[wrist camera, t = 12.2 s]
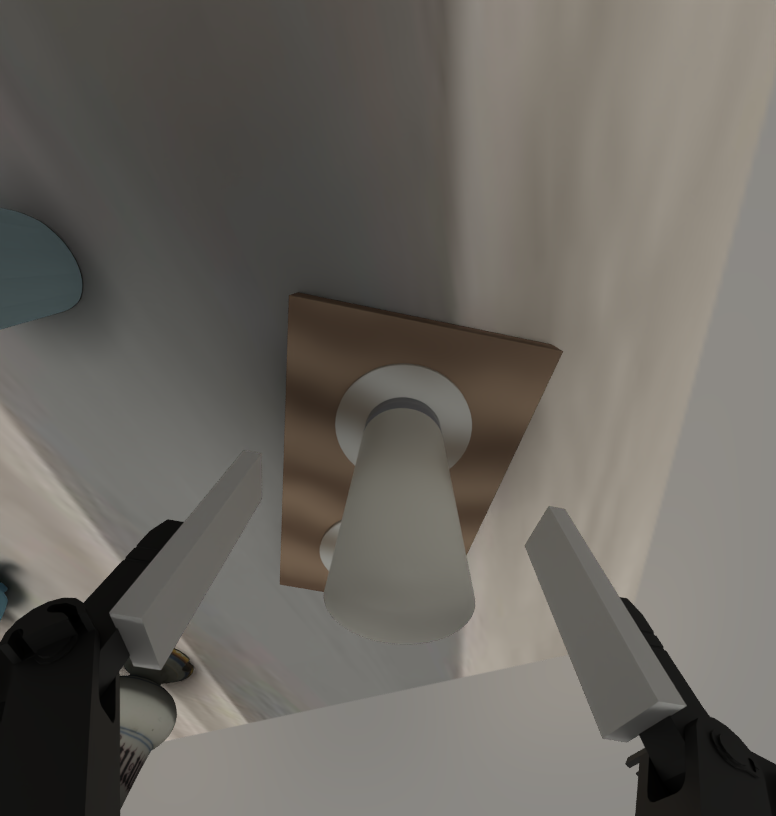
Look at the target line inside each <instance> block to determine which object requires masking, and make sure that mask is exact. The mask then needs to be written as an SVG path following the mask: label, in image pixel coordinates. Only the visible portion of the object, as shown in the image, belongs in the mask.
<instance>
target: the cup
mask: <svg viewBox="0 0 776 816" xmlns="http://www.w3.org/2000/svg"><path fill="white" fill-rule="evenodd" d="M81 293H82V278H81V274H80V270H79V267H78V265H77V262H76V260H75V258H74V257H73V255H72V253H71V252H70V250H69V249H68V248H67V246H66V245H65V244H64V242H63V241H62V240H61V239H60V238H59V237H58V236H57V235H56V234H55V233H54V232H53V231H52V230H50V229H49V228H48V227H47V226H46V225H44V224H43V223H41V222H40V221H38V220H36V219H34V218H32V217H30V216H27V215H25V214H23V213H20V212H17V211H12V210H8V209H4V208H0V329H4V328H7V327H11V326H14V325H18V324H21V323H25V322H29V321H32V320H36V319H39V318H43V317H46V316H50V315H53V314H57V313H60V312H63V311H66V310H69V309H70V308H72V307H73V306H74V305H75V304H76V303H77V302H78V301H79V299H80V297H81Z"/></svg>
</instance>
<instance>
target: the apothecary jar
mask: <svg viewBox="0 0 776 816" xmlns="http://www.w3.org/2000/svg"><path fill="white" fill-rule="evenodd" d="M188 661H189V658H187V657H186V656H185V655H184V654H183V653H181V652H180V651H178V650H176V649H173V651H172V652H171V654H170V656H169V657H168V659H167V661H166V663H165V664H164V666H163V668H162V669H161V670H156V669H150V668H143V667H137V666H133V664H132V661H131V659H130V657H129V658H128V659H127V661H126V662H125V664H124V667H125V669H126V670H127V671H128V672H129V673H130V675H128V676H120V809H121V807H122V805H123V803H124V801H125V799H126V797H127V795H128V793H129V791H130V789H131V787H132V785H133V783H134V781H135V779H136V778H137V776H138V774H139V772H140V770H141V768H142V766H143V764H144V762H145V761H146V759H147V757H148V755H149V753H150V751H151V750H153V749H155V748H156V747H158V746H159V745H160V744H161V743H162V742H164V741H165V739H166V738H167V737H168V736H169V735H170V733H171V731H172V730H173V728H174V725H175V722H176V717H177V711H176V705H175V702H174V700H173V698H172V696H171V695H170V694H169V693H168V692H167V691H166V690H165V689H164V688H163V687H161V686H160V685H161V683H170V682H178V681H182V680H184V679H186V678H188V677H189V676H190V675H191V673H192V672H193V666H192V665H191V664H189V663H188Z"/></svg>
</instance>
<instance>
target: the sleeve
mask: <svg viewBox="0 0 776 816" xmlns="http://www.w3.org/2000/svg"><path fill="white" fill-rule="evenodd" d="M324 602H325V605H326V608H327V610H328V612H329V613H330V615H331V616H332V617H333V618H334V619H335V620H336V621H337V622H338V623H339V624H340V625H341V626H343V627H344V628H346V629H347V630H349V631H351V632H352V633H355V634H357V635H359V636H361V637H364V638H367V639H370V640H374V641H378V642H383V643H389V644H400V645H412V644H422V643H428V642H433V641H437V640H440V639H443V638H445V637H448V636H450V635H452V634H454V633H455V632H457V631H459V630H460V629H461V628H462V627H464V626H465V625H466V624H467V623H468V621H469V620H470V618H471V617H472V615H473V612H474V609H475V597H474V592H473V587H472V582H471V577H470V572H469V567H468V562H467V557H466V552H465V547H464V542H463V537H462V532H461V527H460V522H459V517H458V512H457V507H456V502H455V497H454V492H453V487H452V482H451V477H450V472H449V467H448V462H447V457H446V452H445V447H444V442H443V437H442V432H441V427H440V422H439V419H438V417H437V415H436V414H435V412H434V411H433V410H432V409H431V408H430V407H429V406H428V405H426V404H425V403H423V402H421V401H419V400H416V399H413V398H407V397H398V398H392V399H389V400H386V401H384V402H382V403H380V404H379V405H377V406H376V407H375V408H374V409H373V410H372V411H371V412H370V414H369V416H368V418H367V420H366V424H365V428H364V432H363V436H362V440H361V444H360V448H359V452H358V456H357V460H356V465H355V469H354V473H353V477H352V481H351V485H350V489H349V493H348V497H347V501H346V505H345V509H344V513H343V517H342V521H341V525H340V529H339V533H338V537H337V541H336V545H335V549H334V554H333V558H332V562H331V566H330V570H329V574H328V578H327V582H326V586H325V590H324Z"/></svg>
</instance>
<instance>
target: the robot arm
mask: <svg viewBox="0 0 776 816" xmlns="http://www.w3.org/2000/svg"><path fill="white" fill-rule="evenodd" d="M261 500H262V464H261V453H258V452H252V451H247V450H243V452H242V453H241V454H240V455H239V456H238V458H237V459H236V460H235V461H234V462H233V464H232V465H231V466H230V467H229V468H228V470H227V471H226V472H225V473H224V475H223V476H222V477H221V478H220V479H219V481H218V482H217V483H216V484H215V485H214V487H213V488H212V489H211V490H210V491H209V493H208V494H207V495H206V496H205V497H204V499H203V500H202V501H201V502H200V503H199V505H198V506H197V507H196V508H195V510H194V511H193V512H192V513H191V514H190V516H189V517H188V518H187V519H186V520H185V522H180V521H174V520H166V521H164V522H163V523H161V524H160V525H158V526H157V527H155V528H154V529H152V530H151V531H150V532H149V533H148V534H147V535H146V536H145V537H144V538H143V539H142V540H141V541H140V542H139V543H138V544H137V547H136V548H134V549H133V550H132V551H131V552H130V553H129V554H128V555H127V556H126V559H125V560H123V561H122V562H121V563H120V564H119V565H118V566H117V567H116V568H115V569H114V570H113V572H112V573H111V574H110V575H109V576H108V577H107V578H106V579H105V580H104V581H103V582H102V583H101V585H100V586H99V587H98V588H97V589H96V590H95V591H94V592H93V593H92V594H91V595H90V596H89V597H88V599H87V600H86V601H85V602H84V603H83V602H81V601H80V600H78V599H76V598H61V599H57V600H53V601H49V602H47V603H45V604H43V605H41V606H39V607H37V608H35V609H33V610H31V611H30V612H28V613H27V614H26V615H24V616H23V617H21V618H20V619H19V620H17V621H16V622H15V623H14V625H13V626H12V627H11V628H10V629H9V630H8V631H7V632H6V633H5V635H4V636H3V638H2V640H1V642H0V816H120V675H119V671H120V669H121V668H122V667H123V665H124V664H125V662H126V661H127V659H128V658H129V657H130V659H131V661H132V664H133V666H137V667H143V668H150V669H156V670H161V669H162V668H163V666H164V664H165V663H166V661H167V659H168V657H169V656H170V654H171V652H172V651H173V649H174V647H175V646H176V644H177V642H178V641H179V639H180V637H181V635H182V634H183V632H184V630H185V629H186V627H187V625H188V624H189V622H190V620H191V618H192V617H193V615H194V613H195V612H196V610H197V608H198V607H199V605H200V603H201V601H202V600H203V598H204V596H205V595H206V593H207V591H208V590H209V588H210V586H211V585H212V583H213V581H214V579H215V578H216V576H217V574H218V573H219V571H220V569H221V568H222V566H223V564H224V562H225V561H226V559H227V557H228V556H229V554H230V552H231V551H232V549H233V547H234V545H235V544H236V542H237V540H238V539H239V537H240V535H241V534H242V532H243V530H244V529H245V527H246V525H247V523H248V522H249V520H250V518H251V517H252V515H253V513H254V512H255V510H256V508H257V506H258V505H259V503H260V501H261ZM525 548H526V550H527V553H528V555H529V558H530V560H531V562H532V565H533V567H534V570H535V572H536V575H537V577H538V580H539V582H540V585H541V587H542V590H543V592H544V595H545V597H546V600H547V602H548V605H549V607H550V610H551V612H552V614H553V617H554V619H555V622H556V624H557V627H558V629H559V632H560V634H561V637H562V639H563V642H564V644H565V647H566V649H567V652H568V654H569V657H570V659H571V662H572V664H573V666H574V669H575V671H576V674H577V676H578V679H579V681H580V684H581V686H582V689H583V691H584V694H585V696H586V698H587V701H588V704H589V706H590V709H591V711H592V713H593V716H594V718H595V721H596V723H597V726H598V728H599V731H600V733H601V736H602V738H603V739H609V740H614V741H621V742H629V741H630V740H632V739H633V738H635V737H637V736H638V735H639V736H640V738H641V740H642V742H643V744H644V746H645V748H644V749H642V750H640V751H638V752H637V753H635V754H633V755H631V756H630V757H628V758H627V761H626V765H627V766H628V767H629V768H631V767H632V766H634V765H636V764H638V763H639V771H638V772H637V773H636V775H637V776H638V789H637V800H636V813H635V816H776V764H774V763H772V762H770V761H768V760H766V759H764V758H763V757H761V756H759V755H757V754H755V753H753V752H751V751H750V750H749V749H748V748H747V746H746V745H745V744H744V743H743V742H742V741H741V739H740V738H739V737H738V736H737V735H735V733H734V732H732V731H731V730H730V729H729V728H728V727H727V726H726V725H724V724H722V723H721V722H719V721H718V720H716V719H715V718H712V717H710V716H709V715H708V714H707V712H706V711H705V710H704V708H703V707H702V705H701V704H700V702H699V701H698V699H697V698H696V696H695V694H694V693H693V691H692V690H691V688H690V687H689V685H688V684H687V682H686V681H685V679H684V678H683V676H682V674H681V673H680V671H679V670H678V669H677V667H676V665H675V664H674V662H673V661H672V659H671V658H670V656H669V655H668V653H667V651H665V650H664V649H663V645H662V644H661V642H660V641H659V639H658V638H657V636H655V635H654V632H653V630H652V629H651V627H650V626H649V624H648V622H647V621H646V619H645V618H644V616H643V615H642V614H641V613H640V612H639V611H638V609H637V608H636V607H635V606H634V605H633V604H632V603H631V602H630V601H629V600H628V599H627V598H621V597H619V596H618V594H617V592H616V591H615V589H614V588H613V586H612V584H611V583H610V581H609V579H608V578H607V576H606V575H605V573H604V571H603V570H602V568H601V567H600V565H599V563H598V562H597V560H596V558H595V557H594V555H593V554H592V552H591V550H590V549H589V547H588V546H587V544H586V542H585V541H584V539H583V537H582V536H581V534H580V533H579V531H578V529H577V528H576V526H575V525H574V523H573V521H572V520H571V518H570V516H569V515H568V513H567V512H566V510H565V509H562V508H557V507H551V506H549V507H548V508H547V510H546V511H545V513H544V515H543V516H542V518H541V520H540V521H539V523H538V524H537V526H536V528H535V529H534V531H533V533H532V534H531V536H530V538H529V539H528V541H527V542H526V544H525Z"/></svg>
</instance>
